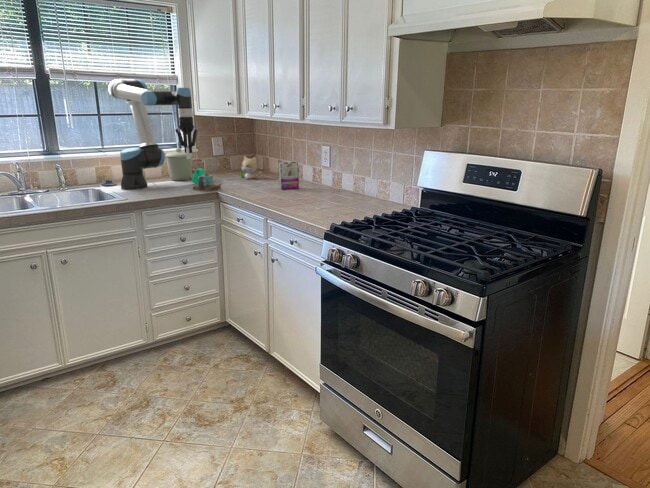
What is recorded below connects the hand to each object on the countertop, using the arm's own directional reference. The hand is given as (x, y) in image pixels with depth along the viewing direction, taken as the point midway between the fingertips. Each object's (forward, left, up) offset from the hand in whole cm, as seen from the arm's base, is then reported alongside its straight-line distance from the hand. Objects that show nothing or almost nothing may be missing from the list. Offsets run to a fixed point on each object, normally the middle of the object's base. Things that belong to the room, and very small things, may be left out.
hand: (189, 158), depth 278 cm
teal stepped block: (+6, +6, -17) cm, 19 cm away
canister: (-22, +39, -20) cm, 49 cm away
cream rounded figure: (+22, +49, -20) cm, 57 cm away
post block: (+6, +10, -19) cm, 22 cm away
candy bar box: (+55, +17, -20) cm, 61 cm away
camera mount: (-2, +25, -20) cm, 32 cm away
